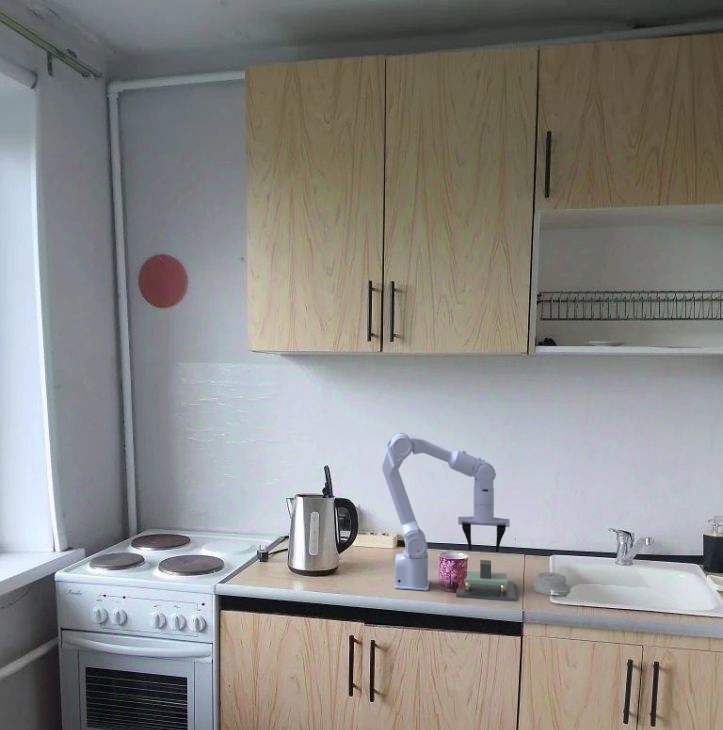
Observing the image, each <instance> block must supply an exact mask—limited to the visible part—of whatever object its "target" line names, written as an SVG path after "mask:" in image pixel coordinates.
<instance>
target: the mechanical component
mask: <svg viewBox="0 0 723 730" xmlns="http://www.w3.org/2000/svg"><path fill="white" fill-rule="evenodd" d="M566 579H567V578H566V575H564V574H563V575H562V573H558V572H552V571H545V572H539V573H538V576H537V581H535V582H534V583H533V590H534V591H535V592H536V593H539V594H542V595H544V596H545V595H546V596H550V594H551V590H554V593H557V594H559V595H561V596H560V597H563V596H568V595H569V594H570V593H571V587H570V586H569V584H567V583H566V581H567V580H566Z"/></svg>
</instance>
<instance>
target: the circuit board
mask: <svg viewBox="0 0 723 730" xmlns="http://www.w3.org/2000/svg"><path fill="white" fill-rule="evenodd" d="M479 564H480V566H479V569H480V570H479V571H476V570H466V571H467V577H466V579H464V583H471V584H485V585H500V586H508V580H509V579H508V573H505V572H492V561H491V560H489V559H480V560H479Z"/></svg>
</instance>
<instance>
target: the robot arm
mask: <svg viewBox="0 0 723 730" xmlns="http://www.w3.org/2000/svg"><path fill="white" fill-rule="evenodd" d="M411 454H413V455H419V454H425V455H428V456H429V457H433V458H436V459H438V460H441V461H443V462H446V463H448V467H449V468H450V469H451V470H453V471H455V472H459V473H460V474H463V475H464V476H467V477H474V478H473V479H474V480H473V481H474V483H473V484H474V485H473V516H472V515H471V516H458V517H457V519H458V521H457V523H458V526H459V525H460V526H461V528H462V531H463V533H464V535H465V538H466V541H467V545H468V551H472V525H473V526H475V525H476V526H489V527H490V526H491V527H496V541H495V553H499V551H500V550H499V549H500V545H501V541H502V539H503V537H504V535H505V533H506V528H510V522H511V521H510V519H509V518H502V517H495V516H494V515H495V512H494V511H495V509H494V508H495V491H494V489H495V488H494V483H495V482H494V480H495V479H496V477H497V473H496V471H495V468H494V467H493V465H491V463H489V462H487V461H486V460H484V459H482V458H481V457H476V456H475V457H474V456H472V455H470V454H468V453H467V451H466V450H464V449H461V450H455V451H449V450H448V449H445V448H443V447H440V446H438V445H436V444H434V443H432V442H430V441H427V440H426V439H424V438H420V437H417V436H413V435H408V434H406V433H403V432H397V433H396V434H394V435H392V437H391V438H390V439H389V441H388V442H387V444H386V450H385V453H384V456H383V460H382V463H381V469H382V473H383V475H384V478H385V482H386V485H387V487H388V489H389V494H390V496H391V499H392V502H393V505H394V507H395V511H396V513H397V514H396V515H397V517H398V519H399V522H400V524H401V528H402V531H403V535H404V537H403V541H404V544H405V545H404V546H405V547H404V548H405V549H404V550H403V551H402V553H396V555H395V560H394V561H395V563H394V567H395V568H394V573H395V574H394V588H395V589H398V590H399V589H400V590H401V589H403V590H415V591H416V590H417V591H429V587H430V584H431V579H429V578H428V577H429V574H428V572H429V554H428V542H427V540H426V536H425V532H423V530H422V529H420V527H419V525H418V523H417V522H418V521H417V519H416V516H415V514H414V511H413V508H412V504H411V503H410V502H411V501H410V499H409V497H408V496H409V495H408V493H407V491H406V487H405V484H404V482H403V479H402V477H401V473H400V470H399V469H400V467H401V466H402V464H403V462H404V460H406V459H407V458H408V457H409V456H410V455H411Z"/></svg>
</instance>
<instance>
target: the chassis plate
mask: <svg viewBox="0 0 723 730" xmlns="http://www.w3.org/2000/svg"><path fill="white" fill-rule="evenodd" d="M455 592H456V593H455V597H456V598H461V599H462V598H463V599H478V600H493V601H506V602H517V596H516V591H515V584H514V581H508V586H500V585H485V584H471V583H465V589H462V590H457V589H456V591H455Z"/></svg>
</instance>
